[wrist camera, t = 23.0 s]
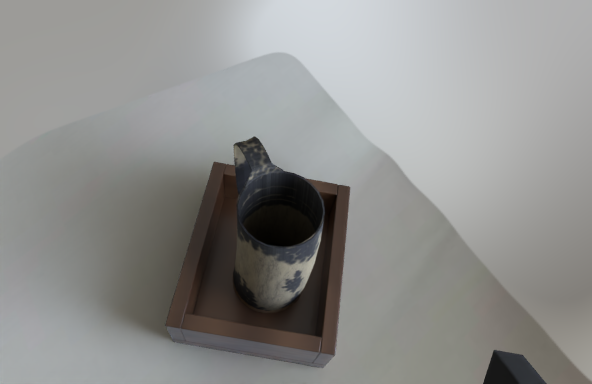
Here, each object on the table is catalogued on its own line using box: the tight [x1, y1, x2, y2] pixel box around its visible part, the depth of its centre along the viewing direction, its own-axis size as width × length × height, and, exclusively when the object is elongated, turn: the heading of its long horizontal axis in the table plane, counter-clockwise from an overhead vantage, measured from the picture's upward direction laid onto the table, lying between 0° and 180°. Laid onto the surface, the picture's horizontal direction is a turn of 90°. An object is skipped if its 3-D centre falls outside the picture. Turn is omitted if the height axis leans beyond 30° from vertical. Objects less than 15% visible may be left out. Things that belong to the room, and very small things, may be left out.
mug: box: [233, 137, 325, 313], centre depth 29 cm, size 8×6×12 cm
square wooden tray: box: [165, 162, 350, 368], centre depth 33 cm, size 11×13×4 cm
